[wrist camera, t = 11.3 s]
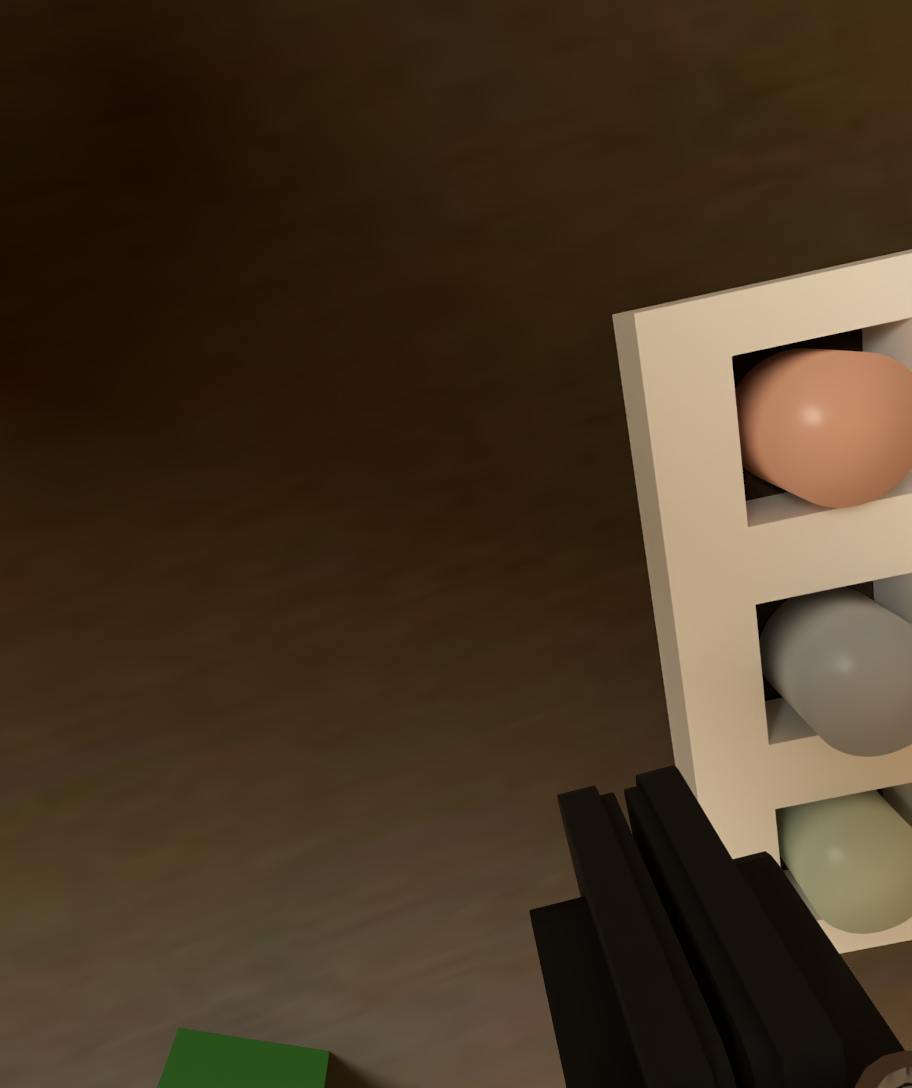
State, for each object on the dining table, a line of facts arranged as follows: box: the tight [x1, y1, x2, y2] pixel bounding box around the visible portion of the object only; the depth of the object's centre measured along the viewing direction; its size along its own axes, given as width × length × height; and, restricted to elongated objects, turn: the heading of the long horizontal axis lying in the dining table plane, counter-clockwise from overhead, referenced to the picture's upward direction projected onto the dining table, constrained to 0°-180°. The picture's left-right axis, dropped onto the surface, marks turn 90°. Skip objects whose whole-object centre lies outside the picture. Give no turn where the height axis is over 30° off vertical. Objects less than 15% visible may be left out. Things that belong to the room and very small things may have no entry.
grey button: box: [759, 586, 912, 757], centre depth 27 cm, size 5×5×4 cm
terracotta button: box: [735, 348, 912, 508], centre depth 25 cm, size 5×5×4 cm
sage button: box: [775, 790, 912, 934], centre depth 31 cm, size 5×5×4 cm
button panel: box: [612, 249, 912, 954], centre depth 29 cm, size 28×12×3 cm, turn 12°
